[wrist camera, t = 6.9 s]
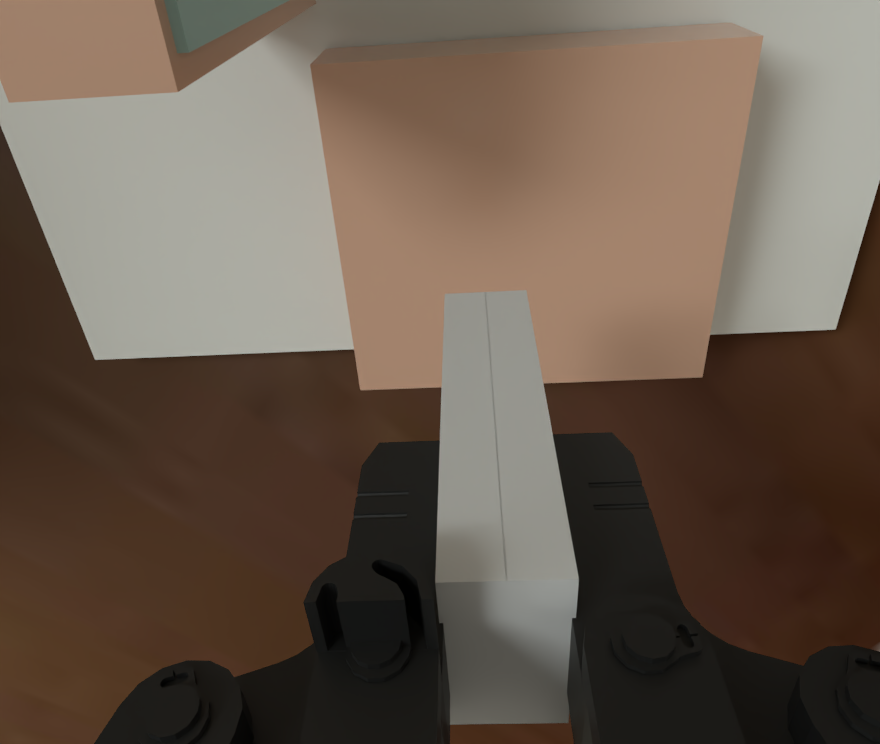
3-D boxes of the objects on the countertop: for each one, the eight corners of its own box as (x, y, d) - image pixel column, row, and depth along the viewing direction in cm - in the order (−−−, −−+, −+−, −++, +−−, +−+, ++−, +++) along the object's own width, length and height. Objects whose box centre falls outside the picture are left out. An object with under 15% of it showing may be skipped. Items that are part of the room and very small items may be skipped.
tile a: (360, 390, 21) (702, 377, 20) (310, 64, 16) (763, 35, 15) (369, 348, 22) (680, 335, 22) (326, 47, 18) (728, 21, 17)
